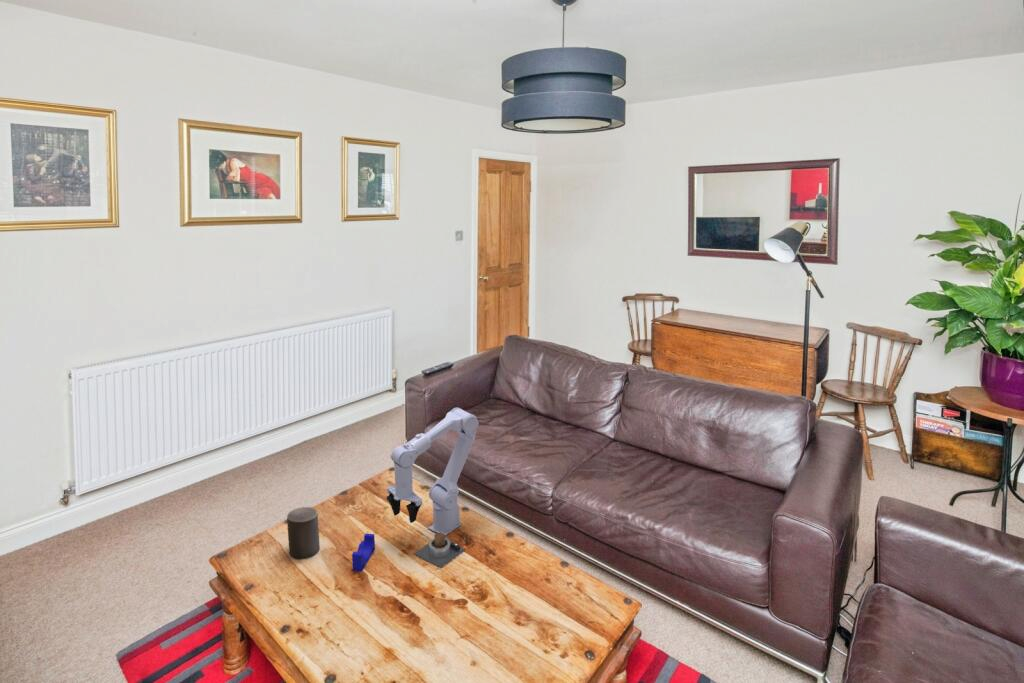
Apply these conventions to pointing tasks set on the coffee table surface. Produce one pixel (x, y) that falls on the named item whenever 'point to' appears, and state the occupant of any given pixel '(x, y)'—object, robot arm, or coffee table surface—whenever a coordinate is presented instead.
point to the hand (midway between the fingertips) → (404, 517)
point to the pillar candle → (303, 532)
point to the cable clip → (363, 552)
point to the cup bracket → (439, 553)
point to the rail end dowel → (439, 540)
